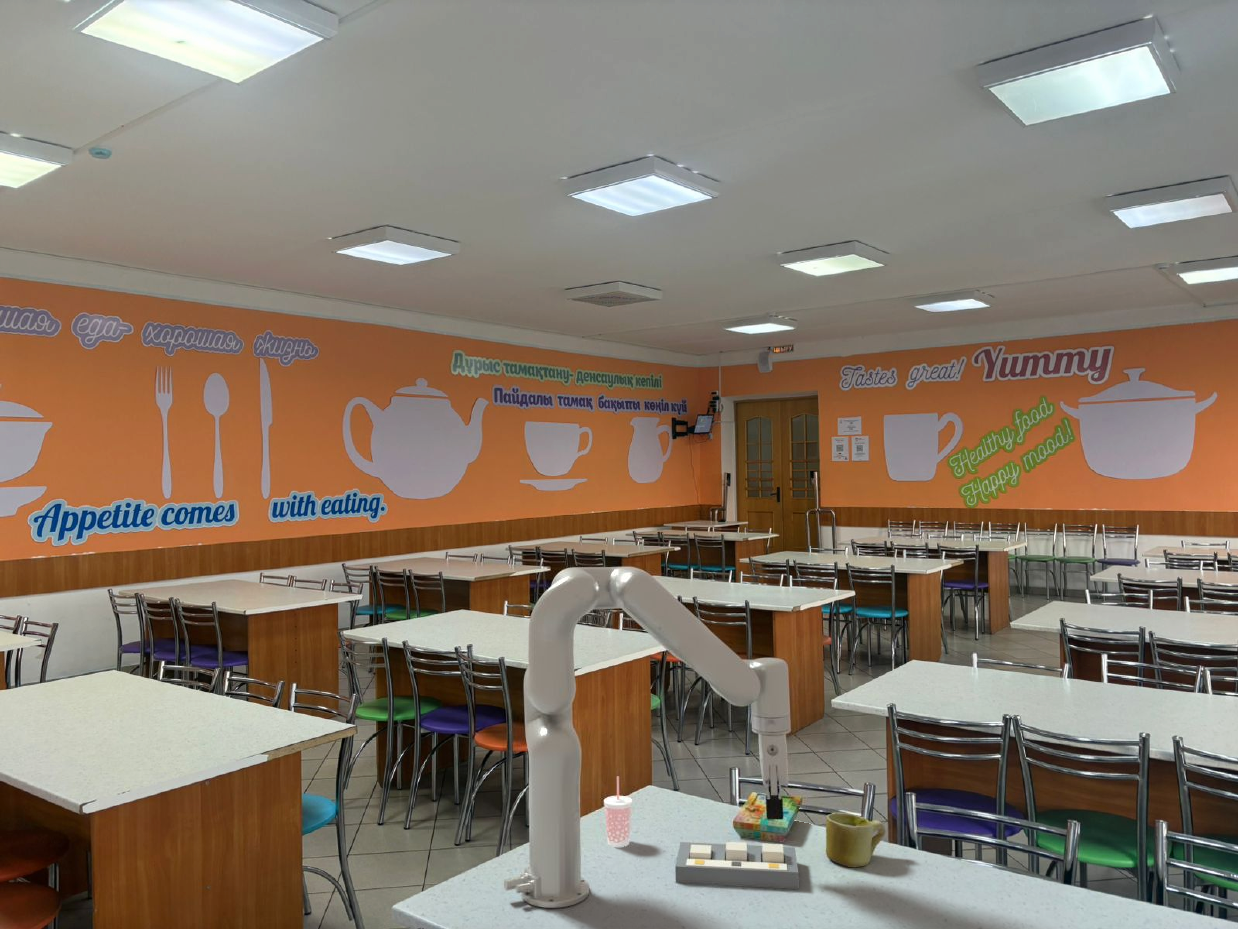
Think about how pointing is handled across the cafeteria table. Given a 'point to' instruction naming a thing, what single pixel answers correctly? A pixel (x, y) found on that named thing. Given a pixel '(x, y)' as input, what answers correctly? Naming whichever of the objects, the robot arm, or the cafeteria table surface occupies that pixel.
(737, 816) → the puzzle game
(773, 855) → the button right
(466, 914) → the cafeteria table surface
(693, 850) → the button left
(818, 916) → the cafeteria table surface
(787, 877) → the button board
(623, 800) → the beverage cup
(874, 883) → the cafeteria table surface
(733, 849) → the button middle
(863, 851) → the mug
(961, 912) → the cafeteria table surface
